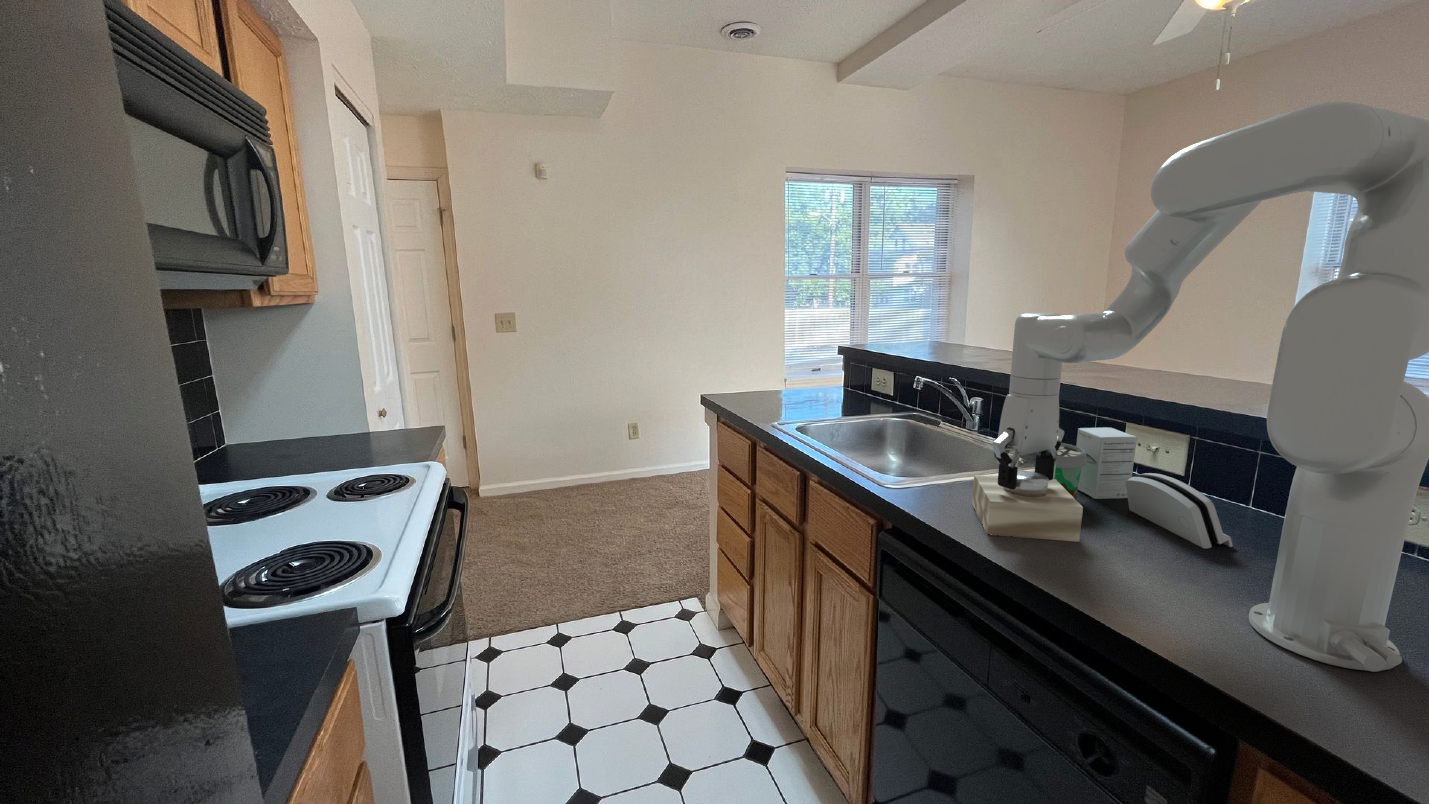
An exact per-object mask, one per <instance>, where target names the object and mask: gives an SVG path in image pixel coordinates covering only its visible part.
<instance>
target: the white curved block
mask: <svg viewBox="0 0 1429 804" xmlns="http://www.w3.org/2000/svg"><path fill="white" fill-rule="evenodd" d="M1126 488H1127V495H1128V498H1127V502H1128V509H1129V511H1130V512H1133V513H1134V514H1136V515H1138V516H1140V517H1142V518H1143V519H1146V520H1148V521H1150V522H1151V523H1154V524H1155V525H1158V526H1159V527H1161V528H1164V529H1165V530H1167V531H1170V532H1171V533H1173V534H1175V535H1177V536H1179V537H1181V538H1183V539H1185V540H1186V541H1189V542H1190V543H1192V544H1195V545H1196V546H1198V547H1200V548H1201V549H1210V548H1213V546H1212V545H1213V543H1214V544H1218V545H1221V544H1223V545H1225V546H1227V547H1229V548H1232V547H1233V542H1232V537H1231V536H1230V535H1227V534H1225V533H1224V532H1223V529H1222V525H1221V523H1220V519H1219V517H1218V514H1217V510H1216V507H1215V504H1214V503H1213V501H1212V500H1211V499H1209V498H1208V497H1207V496H1205V495H1204V494H1203V493H1201V492H1199V491H1198V490H1196V488H1194V487H1192V486H1190V485H1188V484H1187V483H1184V482H1183V481H1181V480H1178V479H1176V478H1174V477H1171V476H1167V475H1165V474H1161V473H1156V472H1155V473H1152V472H1148V473H1147V472H1145V473H1141V474H1138V475H1137V476H1132V478H1130V479H1129V480H1127V481H1126Z"/></svg>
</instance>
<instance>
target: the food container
mask: <svg viewBox="0 0 1429 804" xmlns="http://www.w3.org/2000/svg"><path fill="white" fill-rule="evenodd" d="M1057 453H1058V455H1057V457H1056V458H1054V459H1055V464H1054V474H1053V479H1056V480H1057V481H1058V482H1059V483H1060V484H1061V485H1062V486H1063V487H1064V488H1065V489H1066V490H1067V491H1068V492H1069V493H1070V494H1071V495H1072V496H1073V497H1074V498H1075V500H1076V498H1077V494H1078V485H1079V480H1080V475H1081V470H1082V466H1084V465H1086V464H1087V459H1086V454H1085V452H1084V450H1083V449H1081V448H1079V447H1076V445H1073V444H1069V443H1065V442H1064V443H1063V442H1061V446H1060V448H1059V449H1058V451H1057Z"/></svg>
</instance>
